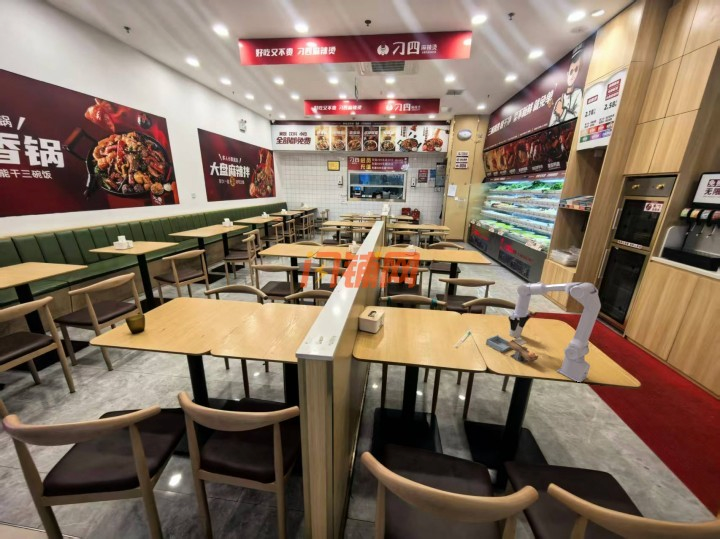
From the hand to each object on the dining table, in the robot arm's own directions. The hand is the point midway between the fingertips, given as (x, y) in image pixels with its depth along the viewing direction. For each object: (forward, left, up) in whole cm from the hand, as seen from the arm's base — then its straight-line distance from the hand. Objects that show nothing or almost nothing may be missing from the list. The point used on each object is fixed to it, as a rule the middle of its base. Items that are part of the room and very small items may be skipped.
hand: (517, 328), depth 152 cm
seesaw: (-9, +6, -6) cm, 12 cm away
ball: (-14, +9, -5) cm, 18 cm away
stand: (-9, +9, -10) cm, 16 cm away
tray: (+3, +9, -10) cm, 14 cm away
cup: (+6, -11, -10) cm, 16 cm away
